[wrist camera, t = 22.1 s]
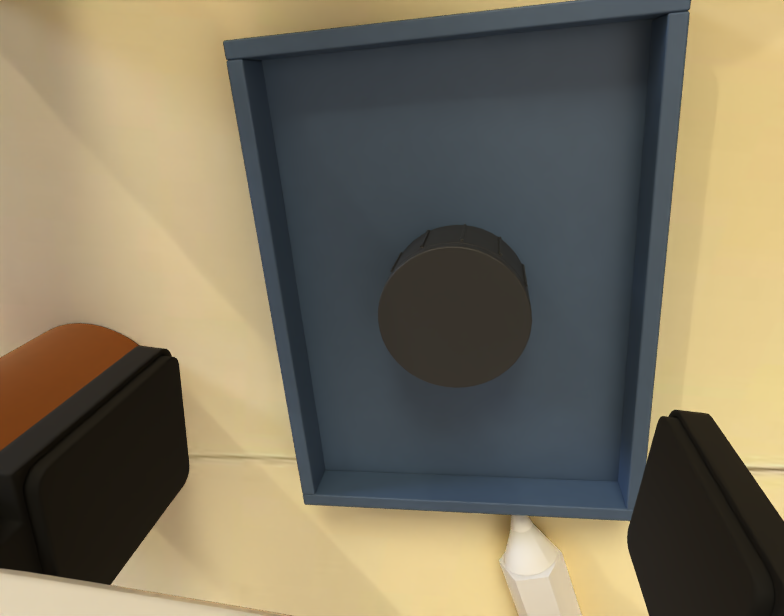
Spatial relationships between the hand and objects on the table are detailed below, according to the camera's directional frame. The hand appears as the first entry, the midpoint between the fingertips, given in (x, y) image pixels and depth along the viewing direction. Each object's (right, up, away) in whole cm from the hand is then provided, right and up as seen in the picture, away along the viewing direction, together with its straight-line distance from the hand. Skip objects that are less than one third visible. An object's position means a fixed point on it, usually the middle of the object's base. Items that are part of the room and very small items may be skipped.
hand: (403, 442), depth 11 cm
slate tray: (+2, +3, +8) cm, 9 cm away
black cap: (+2, +2, +6) cm, 6 cm away
